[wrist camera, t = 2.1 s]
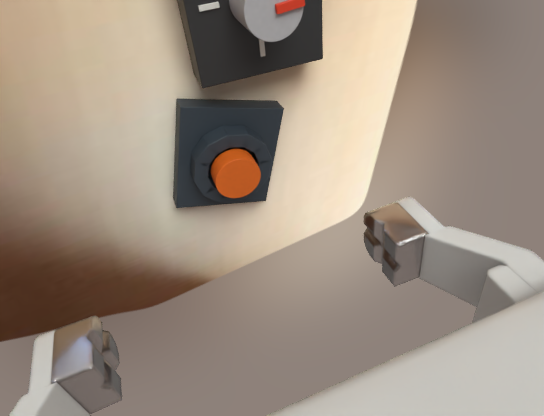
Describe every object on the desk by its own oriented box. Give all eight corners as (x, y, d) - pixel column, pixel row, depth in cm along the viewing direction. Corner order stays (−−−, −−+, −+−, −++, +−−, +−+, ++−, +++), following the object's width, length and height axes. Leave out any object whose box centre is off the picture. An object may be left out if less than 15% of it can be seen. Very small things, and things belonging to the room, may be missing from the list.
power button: (212, 148, 34) (217, 159, 33) (257, 147, 35) (264, 157, 34) (208, 188, 36) (213, 200, 35) (251, 185, 38) (257, 196, 36)
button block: (176, 98, 34) (184, 117, 31) (276, 100, 37) (291, 117, 34) (173, 197, 39) (179, 219, 37) (260, 191, 43) (272, 211, 40)
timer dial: (236, 34, 29) (252, 51, 26) (221, -28, 26) (238, -16, 24) (287, 18, 30) (309, 33, 27) (278, -45, 27) (301, -35, 24)
